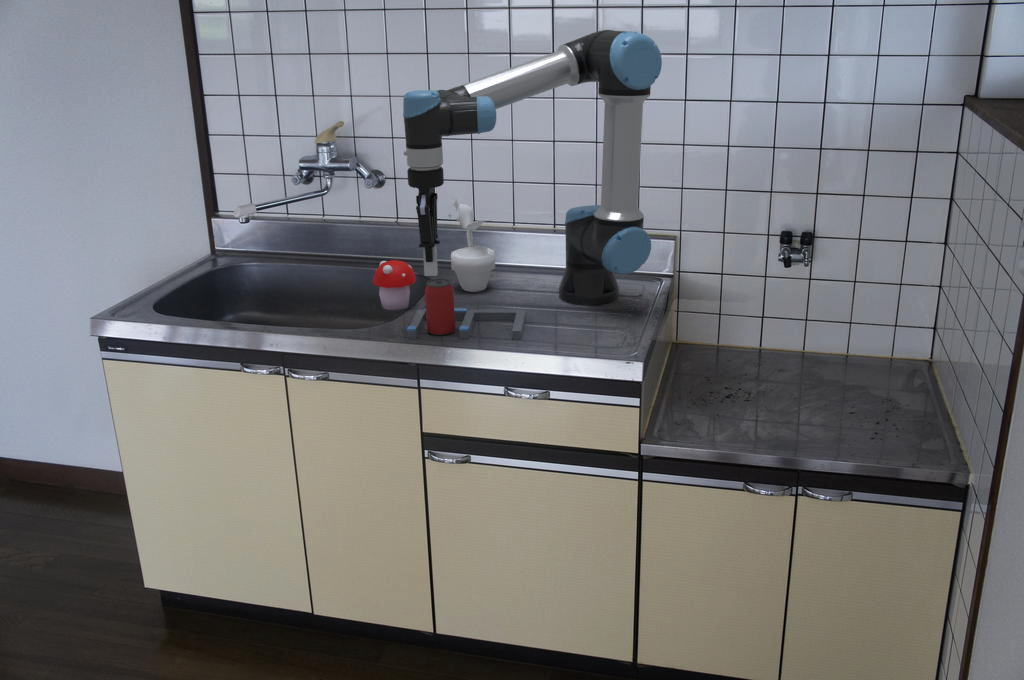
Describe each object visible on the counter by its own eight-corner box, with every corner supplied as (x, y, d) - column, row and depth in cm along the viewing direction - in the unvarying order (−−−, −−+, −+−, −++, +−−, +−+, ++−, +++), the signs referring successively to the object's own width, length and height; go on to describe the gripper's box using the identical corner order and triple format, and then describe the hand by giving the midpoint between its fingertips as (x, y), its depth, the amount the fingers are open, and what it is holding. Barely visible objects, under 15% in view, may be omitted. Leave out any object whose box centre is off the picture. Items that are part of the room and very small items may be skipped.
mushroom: (392, 296, 250) (388, 252, 246) (426, 303, 245) (424, 257, 240) (366, 309, 242) (362, 262, 237) (401, 315, 236) (398, 268, 232)
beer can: (457, 326, 228) (455, 277, 224) (453, 336, 222) (450, 286, 218) (429, 326, 229) (427, 277, 224) (424, 336, 223) (421, 286, 218)
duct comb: (525, 317, 232) (525, 308, 232) (521, 339, 219) (520, 329, 218) (418, 317, 235) (417, 308, 234) (407, 338, 221) (406, 328, 220)
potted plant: (443, 289, 255) (438, 195, 246) (476, 279, 262) (473, 187, 253) (474, 299, 246) (469, 202, 237) (508, 289, 253) (505, 194, 245)
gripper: (412, 161, 209) (419, 266, 218) (401, 173, 197) (408, 283, 206) (447, 160, 209) (452, 266, 217) (438, 172, 197) (443, 283, 205)
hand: (431, 274), depth 211 cm, fingers closed
